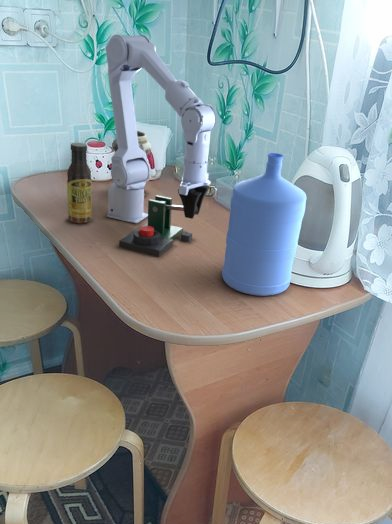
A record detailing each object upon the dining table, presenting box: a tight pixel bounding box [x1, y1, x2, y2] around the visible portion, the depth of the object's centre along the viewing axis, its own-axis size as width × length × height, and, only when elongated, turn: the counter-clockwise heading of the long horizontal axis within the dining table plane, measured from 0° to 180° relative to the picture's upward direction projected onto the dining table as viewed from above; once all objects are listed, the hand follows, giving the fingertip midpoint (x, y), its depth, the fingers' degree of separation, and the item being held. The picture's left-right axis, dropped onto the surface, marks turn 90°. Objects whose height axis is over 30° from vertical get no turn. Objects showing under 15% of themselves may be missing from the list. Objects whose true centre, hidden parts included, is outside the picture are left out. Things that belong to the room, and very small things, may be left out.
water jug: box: [221, 152, 307, 297], centre depth 110 cm, size 16×16×28 cm
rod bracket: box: [135, 194, 184, 241], centre depth 134 cm, size 10×9×9 cm
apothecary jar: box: [111, 130, 152, 197], centre depth 158 cm, size 12×12×18 cm
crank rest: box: [179, 231, 193, 243], centre depth 134 cm, size 2×2×2 cm
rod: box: [156, 200, 198, 216], centre depth 131 cm, size 12×3×3 cm, turn 68°
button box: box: [118, 228, 174, 258], centre depth 128 cm, size 11×8×4 cm
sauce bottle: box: [66, 142, 92, 224], centre depth 135 cm, size 6×6×20 cm
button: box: [138, 225, 154, 237], centre depth 127 cm, size 4×4×2 cm
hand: (191, 215), depth 131 cm, fingers closed on rod, 3 cm apart
